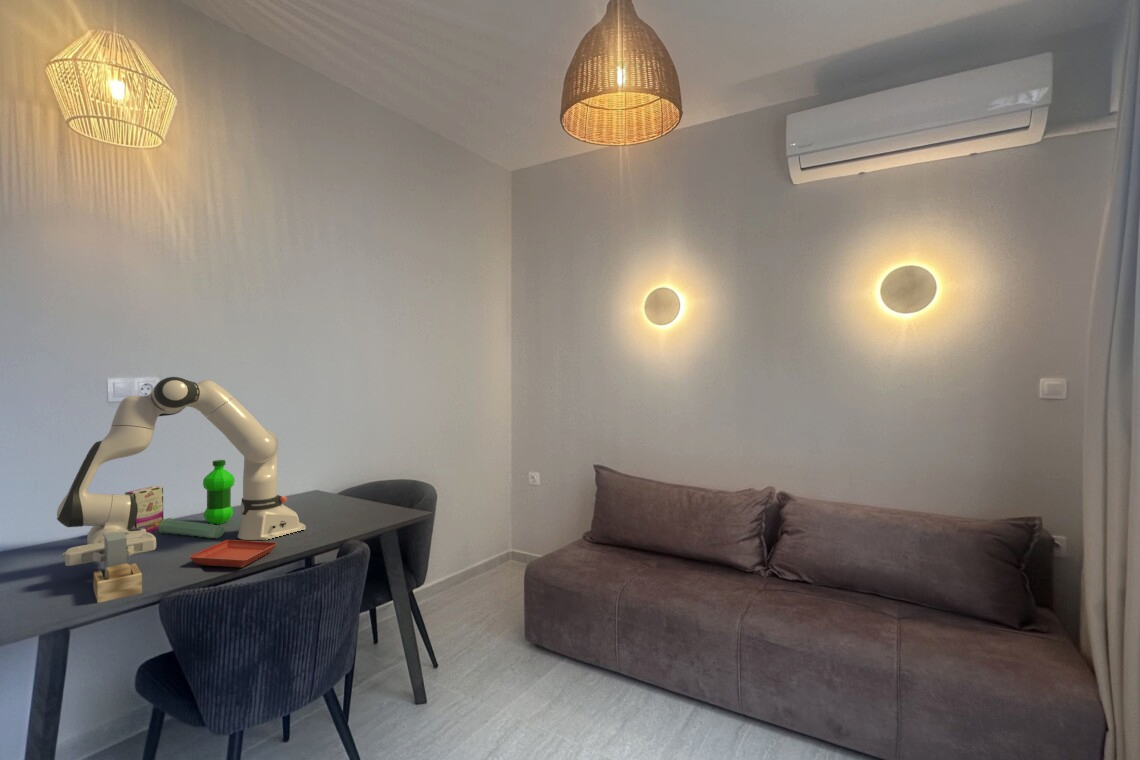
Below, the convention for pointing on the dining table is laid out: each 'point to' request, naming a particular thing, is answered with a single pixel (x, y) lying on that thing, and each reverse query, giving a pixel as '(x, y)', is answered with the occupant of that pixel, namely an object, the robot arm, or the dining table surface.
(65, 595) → the dining table surface
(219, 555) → the plant saucer
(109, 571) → the offcut upper
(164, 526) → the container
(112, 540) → the grey rectangular block
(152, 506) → the candy bar box
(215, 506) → the plastic bottle
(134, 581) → the rack
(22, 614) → the dining table surface
